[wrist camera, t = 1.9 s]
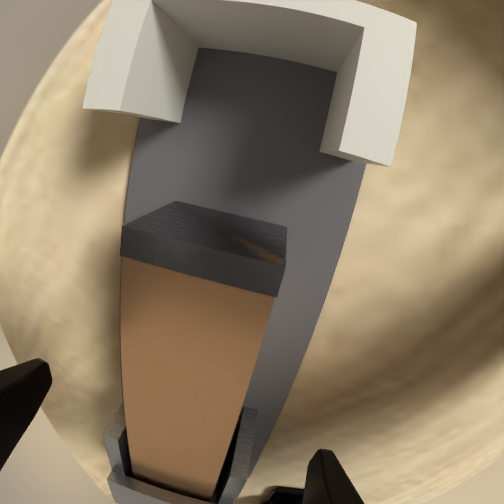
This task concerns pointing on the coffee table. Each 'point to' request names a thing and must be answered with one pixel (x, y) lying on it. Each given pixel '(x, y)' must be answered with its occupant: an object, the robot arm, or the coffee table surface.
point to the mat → (257, 191)
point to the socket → (267, 44)
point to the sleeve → (159, 500)
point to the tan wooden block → (192, 336)
